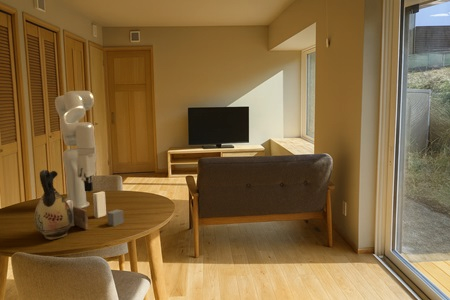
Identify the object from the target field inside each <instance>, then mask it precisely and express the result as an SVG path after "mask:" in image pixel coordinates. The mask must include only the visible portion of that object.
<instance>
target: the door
mask: <svg viewBox="0 0 450 300" xmlns="http://www.w3.org/2000/svg"><path fill="white" fill-rule="evenodd" d="M73 214H74V226H77V227H79V228H82V229H84V230H89V219H88V218H89V217H88V210H87V209H85V208H79V207H76V206H73Z"/></svg>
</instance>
